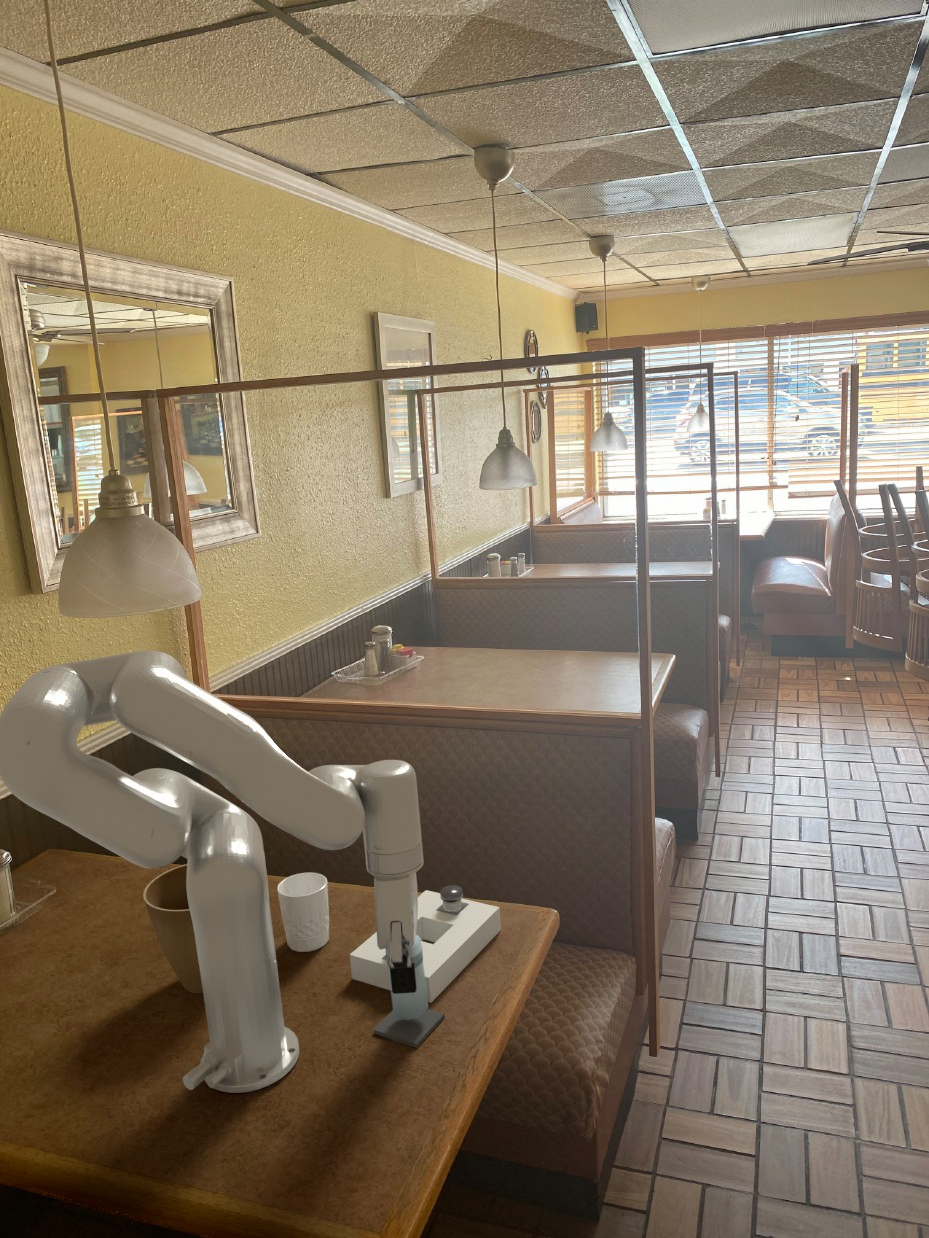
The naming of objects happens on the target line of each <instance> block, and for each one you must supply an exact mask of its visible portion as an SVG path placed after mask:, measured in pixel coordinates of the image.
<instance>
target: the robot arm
mask: <svg viewBox="0 0 929 1238" xmlns="http://www.w3.org/2000/svg"><path fill="white" fill-rule="evenodd" d="M114 721H117V722H118V723H119V725H120V726H121V727H123V728H124V729H125V730H127V731H129V732H130V733H132V734H134V735H136V736H137V737H139V738H140V739H143V740H144V741H146V742H147V743H150V744H151V745H154V746H155V747H157V748H159V749H161V750H163V751H165V752H167V753H169V754H171V755H172V756H174V757H176V758H177V759H179V760H181V761H184V762H186V764H189V765H191V766H192V767H194V768H196V769H198V770H199V771H201V772H203V773H205V774H207V775H209V776H210V777H212V778H213V779H215V780H216V781H217V782H218V783H220V784H221V785H222V786H223V787H224V789H226V790H227V791H228V792H230V794H232V795H234V796H235V797H236V798H237V799H238V800H240V801H241V802H242V803H244V804H245V805H246V806H247V807H248V808H250V809H251V810H253V811H254V812H255V813H256V814H258V815H259V816H260V817H261V818H263V819H264V820H266V821H267V822H269V823H270V824H272V825H274V826H275V827H277V828H279V829H280V830H282V831H284V832H286V833H287V834H290V835H291V836H293V837H295V838H297V839H299V840H301V841H302V842H304V843H306V844H308V845H311V846H313V847H314V848H316V849H317V848H318V849H321V850H325V851H337V850H338V851H339V850H342V849H346V848H347V847H349V846H351V845H353V844H354V843H355V842H356V841H357V840H358V839H359V837H360V836H361V835H362V834H363V836H362V837H363V845H364V854H365V856H364V857H365V865H366V866H365V867H366V871H367V872H368V874H370V875H371V876H373V877H374V878H373V881H374V882H373V886H374V888H373V890H374V893H373V894H374V910H375V925H376V926H375V927H376V929H375V930H376V932H377V946H378V948H379V949H380V950H382V949H386V948H387V945H388V942H389V951H390V975H391V985H392V992H393V993H394V994H399V993H414V992H416V977H415V966H414V963H412V955H411V947H412V946H413V945H414V943H415V937H416V928H417V918H418V896H419V895H418V882H417V872H418V871H419V870H421V869H422V867H423V866H424V864H425V863H424V851H423V841H422V840H423V839H422V827H421V815H420V807H419V805H420V804H419V796H418V795H419V793H418V785H417V784H418V783H417V774H416V771H415V768H414V767H413V766H412V765H411V764H410V763H408V762H406V761H405V760H401V759H383V760H378V761H375V762H371V763H369V764H326V765H321V766H317V767H314V768H312V769H310V770H309V771H308V770H305V768H302V766H300V765H299V764H297V763H296V762H295V761H294V760H292V759H291V758H290V757H289V756H287V755H286V754H285V752H283V751H282V750H281V749H280V748H279V747H278V745H277V744H276V743H275V742H274V741H273V739H272V738H271V737H270V735H269V734H268V732H267V731H266V730H265V729H264V727H263V726H261V724H260V723H259V722H257V721H256V720H255V719H254V718H253V717H252V716H251V715H250V714H247V713H246V712H244V711H242V710H240V709H238V708H236V707H235V706H234V705H232V704H229V703H228V702H227V701H225V700H223V699H221V698H219V697H218V696H216V695H214V694H213V693H211V692H209V691H207V690H205V689H204V688H202V687H200V686H199V685H198V684H196V683H194V682H191V681H190V680H188V679H187V678H186V674H185V670H184V668H183V666H182V665H181V663H180V662H179V661H178V660H177V659H176V658H175V657H174V656H172V655H170V654H168V653H165V652H163V651H160V650H159V651H158V650H139V651H132V652H125V653H121V654H115V655H108V656H103V657H97V658H90V659H83V660H77V661H72V662H65V663H59V664H55V665H51V666H47V667H44V668H43V669H40V670H37V671H36V672H35V673H33V674H32V675H31V676H29V677H28V678H27V679H26V681H24V683H23V684H22V685H21V686H20V688H19V689H18V690H17V691H16V692H15V693H14V694H12V696H11V697H10V699H9V700H8V702H7V703H6V705H5V706H4V708H3V709H2V711H1V713H0V779H1V781H2V783H3V784H4V785H5V787H6V789H8V791H9V792H10V793H11V794H12V795H13V796H14V797H16V798H17V799H18V800H20V801H21V802H23V803H24V804H26V805H27V806H29V807H31V808H32V809H34V810H36V811H37V812H40V813H41V814H44V815H46V816H48V817H50V818H51V819H53V820H55V821H57V822H59V823H61V824H62V825H64V826H66V827H69V828H70V829H72V830H73V831H75V832H77V833H78V834H80V835H81V836H83V837H85V838H87V839H89V841H92V842H94V843H96V844H98V845H99V846H101V847H103V848H105V849H107V850H108V851H110V852H112V853H113V854H116V855H117V856H119V857H121V858H123V859H125V860H126V861H127V862H130V863H132V864H133V865H136V866H139V867H141V868H144V869H151V870H153V869H162V868H166V867H168V866H170V865H172V864H173V863H175V862H176V861H177V860H179V858H180V857H183V858H185V859H186V860H187V863H186V864H187V876H186V888H187V898H188V904H189V909H190V914H191V918H192V923H193V928H194V934H195V941H196V948H197V955H198V962H199V967H200V974H201V981H202V988H203V993H202V995H203V1003H204V1008H205V1016H206V1023H207V1031H208V1036H209V1042H208V1043H206V1044H205V1045H204V1046H203V1050H204V1052H203V1054H202V1056H201V1059H200V1063H199V1064H198V1065H197V1066H196V1067H194V1068H192V1069H191V1070H189V1071H188V1073H186V1074H185V1075H184V1076H183V1077H182V1083H183V1084H184V1086H185V1088H187V1089H188V1090H191V1091H193V1090H194V1089H195V1088H197V1086H199V1085H200V1084H201V1083H202V1082H203V1081H204V1082H205V1083H206V1085H207V1086H208V1087H209V1088H210V1089H214V1090H216V1091H220V1092H225V1093H231V1094H233V1093H234V1094H239V1093H240V1094H242V1093H248V1092H254V1091H257V1090H260V1089H263V1088H265V1087H269V1086H271V1085H272V1084H274V1083H276V1082H278V1081H279V1080H281V1079H282V1078H283V1077H285V1076H286V1075H287V1074H288V1073H289V1072H290V1071H291V1070H292V1069H293V1067H294V1066H295V1065H296V1064H297V1060H298V1059H299V1055H300V1043H299V1040H298V1036H297V1035H296V1033H295V1032H294V1031H292V1030H291V1029H290V1028H289V1027H287V1026H285V1021H284V1012H283V1005H282V996H281V995H282V994H281V987H280V981H279V970H278V963H277V955H276V954H277V953H276V945H275V938H274V931H273V929H274V928H273V923H272V914H271V913H272V912H271V906H270V894H269V881H268V874H267V873H268V872H267V867H266V856H265V854H266V853H265V849H264V842H263V841H264V840H263V836H262V832H261V828H260V827H259V824H258V823H257V822H256V820H255V819H254V818H253V817H252V815H250V814H249V813H247V812H246V811H245V810H243V809H242V808H240V807H239V806H237V804H234V803H232V802H231V801H229V800H227V799H225V798H224V797H222V796H221V795H219V794H217V793H216V792H214V791H212V790H211V789H209V788H208V787H206V786H203V784H201V783H199V782H197V781H195V780H193V779H192V778H190V777H188V776H186V775H185V774H182V773H181V772H178V771H175V770H174V769H173V770H171V769H168V768H163V767H162V768H161V767H157V768H155V767H154V768H149V769H148V768H147V769H144V770H141V771H139V772H137V773H135V774H134V775H131V774H128V773H127V772H125V771H123V770H121V769H120V768H119V767H117V766H116V765H114V764H112V763H110V762H108V761H106V760H105V759H102V758H99V757H97V756H93V755H90V754H87V753H85V752H83V751H82V750H81V749H80V748H79V747H78V745H77V744H78V743H77V741H78V738H79V736H80V733H81V732H82V729H83V728H84V727H87V726H94V725H98V724H104V723H109V722H114ZM402 939H406V941H407V942H402ZM402 949H406V952H407V957H406V955H405V954H403V951H402Z"/></svg>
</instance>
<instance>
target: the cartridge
mask: <svg viewBox="0 0 929 1238" xmlns="http://www.w3.org/2000/svg"><path fill="white" fill-rule="evenodd" d="M402 942H407V941H406V939H402ZM402 951H403V954H405V955H406V957H407V952H406V949H402ZM411 955H412V963H414V966H415V977H416V992H414V993H399V994H394V993H393V992H392V985H391V975H390V951H389V942H388V945H387V948H386V959H387V965H388V973H389V981H390V989H391V991H390V995H391V1004H392V1010H393V1012H394V1014H395V1015H396V1016H397V1017H399V1018H402V1019H414V1018H417V1017H420V1016H421V1015H423V1014H424V1013H425V1012H426V1011H427V1009H429V1004H428V1003H429V1002H428V1000H427V991H426V982H425V973H424V964H423V951H422V945H421V939H420V937H419V936H418V935H416V937H415V943H414V945H413V946H412V947H411Z"/></svg>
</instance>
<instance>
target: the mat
mask: <svg viewBox="0 0 929 1238" xmlns="http://www.w3.org/2000/svg"><path fill="white" fill-rule="evenodd" d="M444 1019H445V1013H442V1012H441V1011H440V1012H439V1011H437V1010H433V1009H430V1008H428V1009H427V1011H426V1012H425V1013H424V1014H423V1015H421V1016H420V1017H417V1018H414V1019H402V1018H399V1017H397V1016H396V1015H395V1014H394V1012H393V1009H392V1010H391V1011H390V1012H389V1013H388V1014H387V1015H386V1016H385V1017H384V1018H383V1019H382V1020H381V1021H380V1022H379V1023H378V1024H377V1025H376V1026H375V1027H374V1028H373V1029H372V1030H373V1034H374V1035H377V1036H380V1037H382V1038H386V1039H389V1040H392V1041H394V1042H398V1043H400V1044H404V1045H407V1046H409V1047H413V1048H416V1049H417V1048H418V1047H420V1045H421V1044H422V1043H423V1042H424V1041H425V1040H426V1039H427V1038H428V1036H429V1035H430V1034H431V1033H432V1032H433V1031H434V1030H435V1029H436V1028H437V1027H438V1025H440V1024H441V1022H442V1021H443V1020H444Z"/></svg>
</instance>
